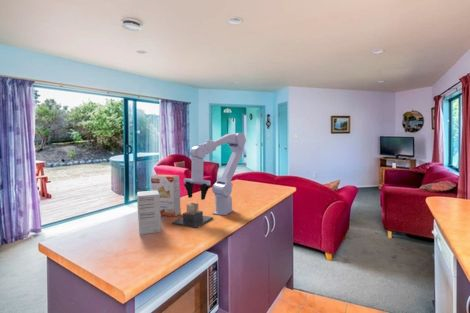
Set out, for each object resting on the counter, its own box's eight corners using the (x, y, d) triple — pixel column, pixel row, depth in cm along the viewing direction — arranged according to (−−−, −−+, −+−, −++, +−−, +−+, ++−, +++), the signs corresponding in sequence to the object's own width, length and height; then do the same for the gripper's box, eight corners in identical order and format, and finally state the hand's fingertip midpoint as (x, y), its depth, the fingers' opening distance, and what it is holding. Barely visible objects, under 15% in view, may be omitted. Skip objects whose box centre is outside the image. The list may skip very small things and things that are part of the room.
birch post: (192, 217, 130) (191, 202, 130) (198, 218, 128) (198, 203, 128) (186, 219, 127) (186, 204, 126) (193, 220, 125) (193, 205, 124)
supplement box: (138, 228, 120) (136, 191, 119) (159, 225, 124) (158, 189, 122) (139, 235, 112) (136, 196, 110) (161, 232, 115) (159, 193, 113)
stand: (190, 215, 137) (189, 205, 137) (213, 219, 131) (212, 208, 130) (172, 224, 125) (171, 213, 124) (196, 228, 118) (196, 216, 118)
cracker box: (152, 214, 140) (150, 175, 138) (159, 211, 146) (157, 174, 144) (174, 217, 135) (173, 176, 133) (181, 213, 141) (179, 174, 139)
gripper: (180, 170, 129) (179, 197, 129) (205, 172, 122) (204, 201, 123) (189, 169, 135) (188, 195, 136) (213, 171, 129) (212, 199, 129)
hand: (196, 198), depth 130 cm, fingers open, 7 cm apart
